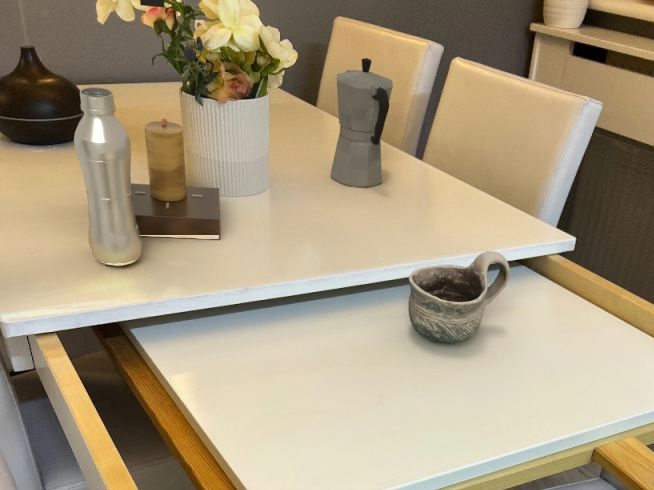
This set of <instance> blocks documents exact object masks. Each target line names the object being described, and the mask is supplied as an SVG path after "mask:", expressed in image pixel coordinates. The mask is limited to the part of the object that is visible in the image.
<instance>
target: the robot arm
mask: <svg viewBox="0 0 654 490" xmlns="http://www.w3.org/2000/svg"><path fill="white" fill-rule="evenodd" d="M139 1H140V2H139V3H140V4H139V5H140V6H143V7H154V8H165V0H139Z"/></svg>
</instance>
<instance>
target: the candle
mask: <svg viewBox="0 0 654 490" xmlns="http://www.w3.org/2000/svg"><path fill="white" fill-rule="evenodd" d="M144 135H145V146H146V159H147V169H148V181H149V184H150V194H151V196H152V197H153V198H155V199H158V200H161V201H179V200H182V199H184V198H186V196H187V188H186V186H187V174H186V158H185V157H186V155H185V140H184V127H183V126H182V125H181V124H179V123H177V122H174V121H173V122H172V121H168V120H167V118H162V120H155V121H150V122H148V123H146V124H144Z"/></svg>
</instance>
